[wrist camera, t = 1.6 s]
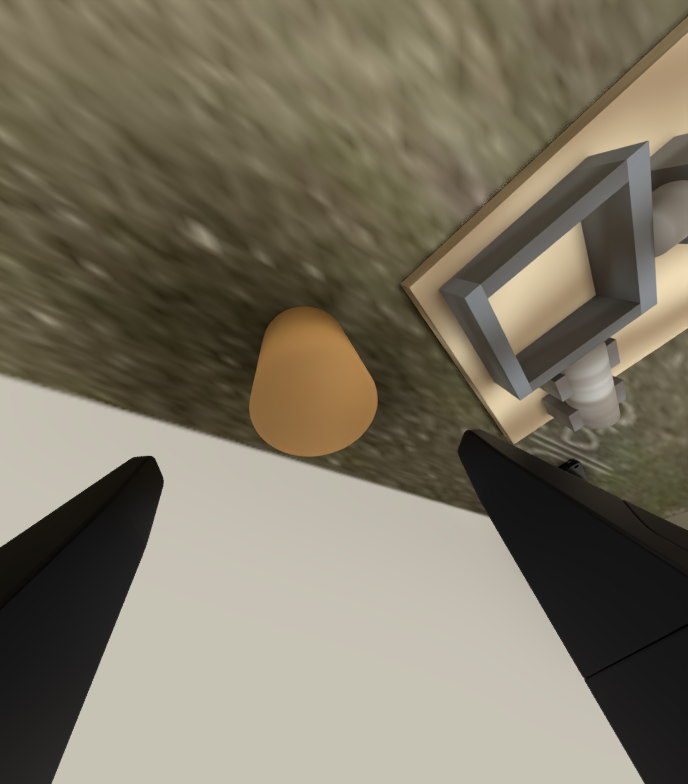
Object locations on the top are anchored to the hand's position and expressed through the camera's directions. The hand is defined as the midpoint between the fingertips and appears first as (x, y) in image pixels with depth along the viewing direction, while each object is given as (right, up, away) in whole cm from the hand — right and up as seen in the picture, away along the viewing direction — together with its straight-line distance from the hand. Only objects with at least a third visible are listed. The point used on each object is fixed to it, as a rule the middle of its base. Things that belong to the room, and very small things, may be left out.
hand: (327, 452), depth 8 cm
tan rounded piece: (-2, +4, +7) cm, 8 cm away
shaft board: (+16, +9, +8) cm, 20 cm away
